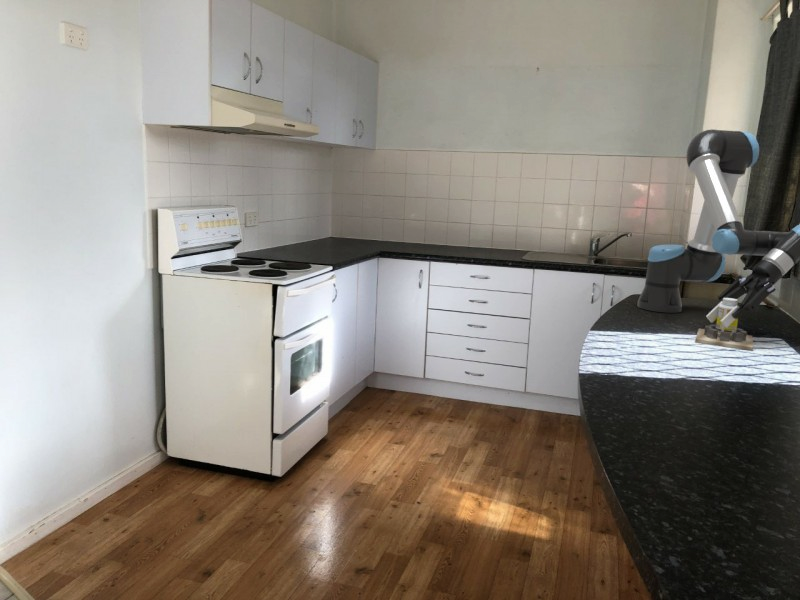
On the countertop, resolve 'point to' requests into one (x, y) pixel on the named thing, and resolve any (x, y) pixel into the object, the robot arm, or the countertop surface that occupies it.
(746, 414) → the countertop surface
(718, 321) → the supplement bottle
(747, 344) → the collar plate
